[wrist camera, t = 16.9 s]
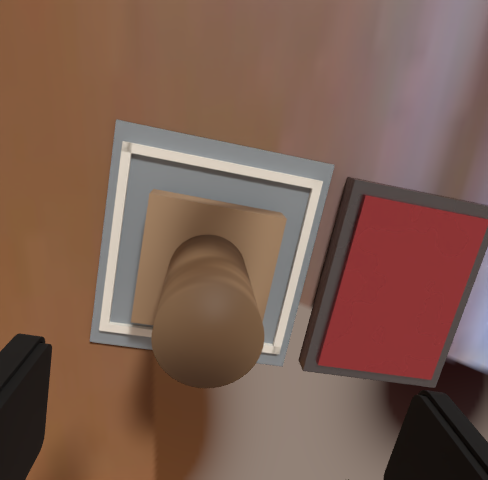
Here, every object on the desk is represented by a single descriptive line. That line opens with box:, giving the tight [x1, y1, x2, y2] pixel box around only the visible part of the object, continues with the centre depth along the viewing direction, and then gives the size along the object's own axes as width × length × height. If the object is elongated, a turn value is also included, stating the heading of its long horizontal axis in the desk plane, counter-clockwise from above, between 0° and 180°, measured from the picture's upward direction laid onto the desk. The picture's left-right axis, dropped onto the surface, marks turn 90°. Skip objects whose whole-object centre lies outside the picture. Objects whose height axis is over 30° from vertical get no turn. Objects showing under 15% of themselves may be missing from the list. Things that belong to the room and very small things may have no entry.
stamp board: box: [90, 120, 334, 366], centre depth 23 cm, size 12×13×1 cm
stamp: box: [131, 189, 287, 388], centre depth 19 cm, size 7×7×9 cm
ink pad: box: [299, 177, 488, 388], centre depth 24 cm, size 9×12×2 cm
